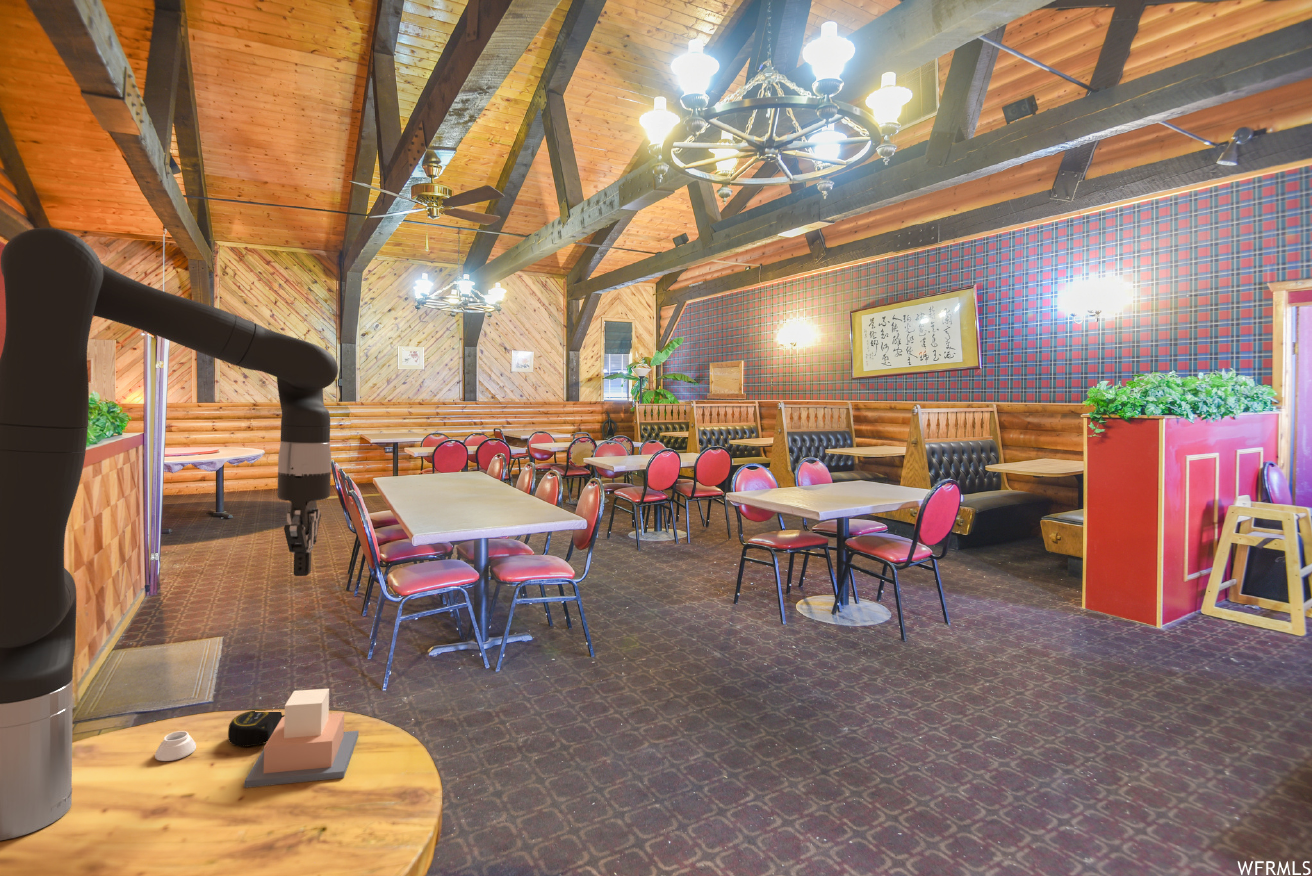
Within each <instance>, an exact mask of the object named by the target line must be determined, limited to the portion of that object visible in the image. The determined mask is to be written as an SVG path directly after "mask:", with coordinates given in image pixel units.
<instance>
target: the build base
mask: <svg viewBox="0 0 1312 876" xmlns="http://www.w3.org/2000/svg"><path fill="white" fill-rule="evenodd" d="M284 720H285V716H284V717H282V719H281V720H280V722H279V723H278V725H277V727H276V728H275V730H274V732H273V733H272V735H271V737H270V738H269V740H268V741H267V742H266V744H265V745H264V746H263V750H262V752H261V753H260V754H259V756H258V758H257V760H256V761H255V763H254V764H253V766H252V768H251V770H250V771H249V773H248V775H247V776H246V777H245V779H244V782H243V784H244V785H243V787H244V788H256V787H265V786H275V785H284V784H285V785H286V784H294V783H295V784H297V783H305V782H306V783H307V782H315V781H325V780H335V779H344V778H345V775H346V773H347V769H348V767H349V764H350V761H351V759H352V756H353V754H354V753H353V752H354V750H355V747H356V744H357V742H358V738H359V730H350V731H345V712H334V713H333V712H332V713H330V712H329V715H328V721H327V723H326V725H325V728H324V730H323V732H322V734H321V735H318V736H306V737H294V738H284Z"/></svg>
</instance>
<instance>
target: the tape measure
mask: <svg viewBox="0 0 1312 876" xmlns="http://www.w3.org/2000/svg"><path fill="white" fill-rule="evenodd" d="M255 711H267V710H265V709H254V710H249V711H245V712H243V713H240V714H238V715H236V716H235V717H234V718H233V719H231V721H230V723H229V725H228V730H227V739H228V741H229V743H230V744H232V745H233V746H237V747H242V748H244V747H251V746H255V745H256V746H257V745H262V744H265V743H267V741H268V740H269V738H270V737H271V735H272V733H273V732H274V730H275V728H276V727H277V725H278V723H279V722H280V720H281V719H282V717H285V714H283V713H282V711H281V712H255Z"/></svg>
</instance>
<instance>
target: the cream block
mask: <svg viewBox="0 0 1312 876" xmlns="http://www.w3.org/2000/svg"><path fill="white" fill-rule="evenodd" d="M329 707H330V688H318V689H317V688H316V689H304V690H303V689H300V690H293V692H292V694H291V695H290V696H289V698H288V700H287V701H286V703H285V705H284V715H285V716H284V717H285V720H284V738H294V737H306V736H318V735H321V734H322V732H323V730H324V728H325V725H326V723H327V721H328V715H329V714H330V710H329Z"/></svg>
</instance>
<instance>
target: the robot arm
mask: <svg viewBox="0 0 1312 876" xmlns="http://www.w3.org/2000/svg"><path fill="white" fill-rule="evenodd" d="M0 270H1V274H2V277H3V281H4V282H3V284H4V296H5V297H4V298H5V334H4V335H5V337H4V342H3V348H2V352H1V355H0V841H5V840H11V839H15V838H18V837H23V836H25V835H28V834H31V833H33V832H34V833H35V832H36V831H39V830H40V829H44V828H46V827H47V826H49V825H51V824H53V823H54V822H56V821H57V820H59V819H60V818H62V817H63V816H64V815H65V814H67V813H68V812H69V810H70V809H71V807H72V800H73V799H72V794H73V785H72V784H73V783H72V782H73V781H72V780H73V682H74V681H73V678H74V675H73V673H74V671H73V670H74V662H75V661H74V660H75V655H76V654H75V653H76V635H77V634H76V631H77V586H76V581H75V579H74V577H73V575H72V574H71V573H70V571H68V570H67V568H65V539H66V538H65V537H66V531H67V525H68V521H69V518H70V515H71V512H72V508H73V505H74V503H75V499H76V496H77V494H78V489H79V486H80V482H81V479H82V474H83V469H84V463H85V458H86V454H87V453H86V452H87V451H86V450H87V442H88V441H87V440H88V431H89V429H88V427H89V406H90V394H89V393H90V392H89V391H90V389H89V384H90V383H89V369H88V367H89V366H88V345H89V337H90V332H91V327H92V321H93V318H94V317H98V318H101V319H105V320H109V321H112V322H116V323H119V324H122V325H125V326H129V327H132V328H135V329H138V330H141V331H143V332H146V333H149V334H151V335H155V336H157V337H159V338H161V339H165V340H166V341H167V340H168V341H170V342H172V343H175V344H178V345H180V346H183V347H185V348H187V349H190V350H193V351H195V352H198V353H201V354H203V355H205V356H207V357H211V358H213V359H217V360H220V361H223V362H225V363H228V364H230V365H233V366H237V367H239V368H242V369H247V370H250V371H258V372H262V373H265V374H268V375H271V376H273V377H276V383H277V392H278V398H279V405H280V409H281V417H280V418H281V420H280V443H279V451H278V454H277V455H278V458H277V459H278V460H277V498H278V499H279V500H282V501H284V502H285V501H287V502H288V501H289V502H290V503H291V504H290V510H288V511H287V513H286V522H287V523H288V524H285V525H284V527H283V531H284V536H285V539H286V544H287V547H288V551H289V553H292V554H293V576H295V577H307V576H308V575H309V574H310V573H311V571H312V551H313V549H314V548H315V547H314V545H316V543H317V538H318V537H317V536H318V534H319V533H318V532H319V527H320V522H321V517H322V514H321V512H320V511H321V510H320V508H318V504H317V501H323V500H326V499H328V498H330V496H331V480H332V479H331V476H332V474H331V473H332V472H331V471H332V470H331V469H332V453H331V444H330V441H331V439H330V438H331V417H330V416H331V413H330V411H329V410H328V409H327V408H326V407H325V403H324V391H323V390H324V389H325V388H328V387H329V386H330V385H332V384H333V383H334V381H335V380H336V379H337V377H338V373H339V366H338V362H337V360H336V359H335V357H334V356H333V355H332V354H331V353H330V352H329V351H328V350H326V349H325V348H323V347H321V346H319V345H316V344H313V343H311V342H308V341H306V340H303V339H300V338H297V337H293V336H290V335H286V334H283V333H280V332H276V331H273V330H270V329H268V328H266V327H264V326H262V325H261V324H259V323H255V322H254V321H251V320H249V319H246V318H243V317H241V316H240V315H236V314H233V313H231V312H229V311H226V310H223V309H220V308H218V307H216V306H212V305H209V304H205V303H202V302H200V301H196V300H193V299H189V298H186V297H183V296H179V295H177V294H173V293H170V292H166V291H163V290H160V289H157V288H155V287H152V286H149V285H147V284H144V283H143V282H140V281H137V280H135V279H133V278H130V277H128V276H126V275H124V274H122V273H121V272H119V271H116V270H114V269H112V268H111V267H109V266H108V265H105V264H103V263H102V261H101V259H100V258H99V256H98V254H97V253H96V251H95V250H93V248H92V247H91V246H90V244H88V243H87V242H85V241H84V240H83V239H81V237H79V236H77V235H75V234H73V233H72V232H70V231H69V232H68V231H66V230H64V229H60V228H55V227H53V228H52V227H37V228H32V229H28V230H25V231H23V232H20V233H18V234H16V235H15V236H13V237H11V238H10V239H9V241H7V243H6V244H5V246H4V247H3V249H2V252H1V255H0Z"/></svg>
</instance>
